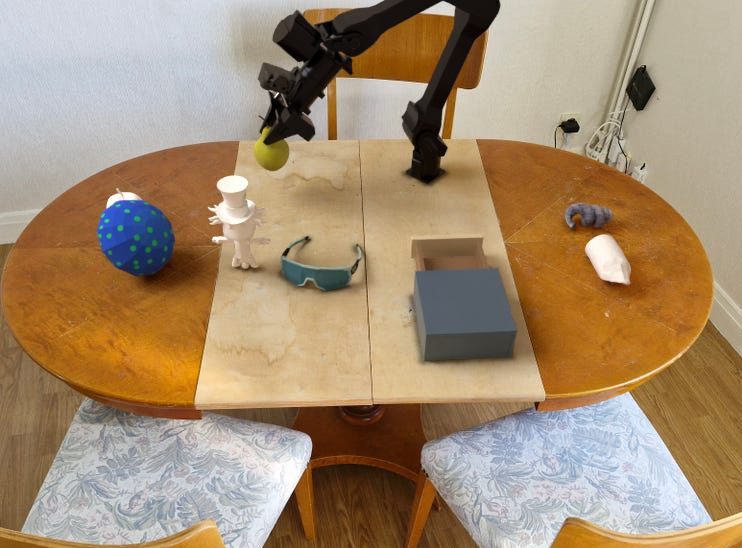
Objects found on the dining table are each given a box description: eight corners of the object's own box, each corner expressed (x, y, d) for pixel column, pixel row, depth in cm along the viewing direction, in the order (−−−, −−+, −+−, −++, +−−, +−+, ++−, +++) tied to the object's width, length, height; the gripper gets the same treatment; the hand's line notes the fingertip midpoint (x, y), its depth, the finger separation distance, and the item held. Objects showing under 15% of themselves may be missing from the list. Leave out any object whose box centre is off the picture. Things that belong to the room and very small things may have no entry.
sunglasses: (272, 284, 125) (271, 260, 122) (298, 244, 136) (297, 222, 133) (347, 297, 123) (348, 273, 120) (367, 256, 134) (368, 233, 131)
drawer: (409, 250, 131) (410, 231, 128) (478, 247, 132) (481, 229, 129) (418, 305, 121) (420, 287, 118) (494, 303, 122) (497, 284, 119)
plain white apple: (125, 210, 139) (114, 176, 134) (155, 218, 138) (146, 183, 132) (104, 230, 135) (93, 195, 129) (136, 238, 133) (125, 203, 128)
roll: (603, 299, 124) (611, 275, 120) (581, 258, 132) (588, 234, 128) (635, 297, 125) (644, 273, 121) (611, 256, 133) (619, 232, 129)
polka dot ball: (98, 198, 129) (139, 171, 119) (158, 246, 137) (202, 224, 127) (60, 254, 122) (102, 231, 112) (127, 301, 130) (170, 284, 120)
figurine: (213, 280, 125) (196, 196, 112) (221, 254, 131) (205, 170, 118) (271, 282, 125) (260, 198, 112) (276, 256, 131) (267, 172, 118)
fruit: (284, 155, 143) (278, 100, 134) (296, 172, 139) (290, 117, 130) (252, 163, 141) (244, 108, 132) (263, 181, 137) (255, 125, 128)
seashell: (561, 232, 140) (608, 231, 141) (571, 224, 135) (620, 224, 136) (559, 206, 140) (607, 206, 141) (569, 198, 135) (618, 197, 136)
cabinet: (413, 297, 124) (415, 270, 119) (493, 294, 125) (498, 267, 120) (423, 360, 113) (426, 334, 109) (511, 356, 114) (517, 330, 110)
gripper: (271, 28, 129) (222, 92, 135) (292, 71, 117) (236, 140, 123) (315, 65, 137) (266, 124, 142) (339, 109, 125) (284, 172, 130)
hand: (262, 138), depth 134 cm, fingers closed on fruit, 4 cm apart
